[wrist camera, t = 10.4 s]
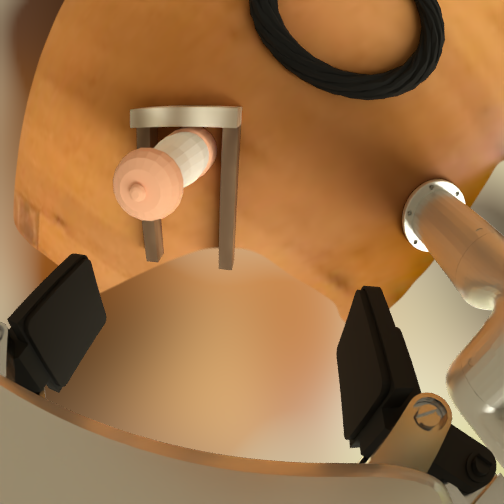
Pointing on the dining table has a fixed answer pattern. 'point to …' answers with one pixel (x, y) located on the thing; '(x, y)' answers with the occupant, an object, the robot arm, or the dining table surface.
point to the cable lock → (348, 82)
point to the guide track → (231, 124)
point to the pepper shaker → (163, 172)
